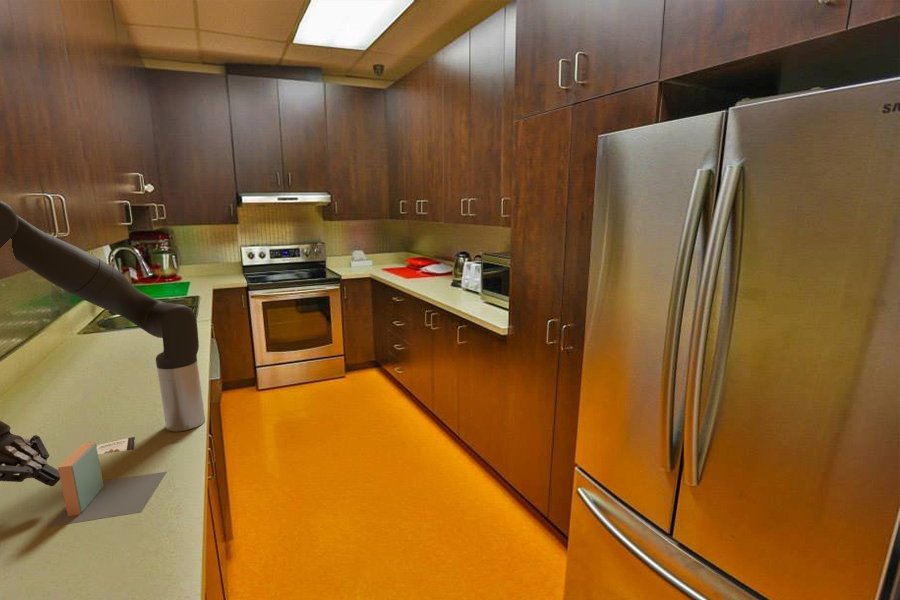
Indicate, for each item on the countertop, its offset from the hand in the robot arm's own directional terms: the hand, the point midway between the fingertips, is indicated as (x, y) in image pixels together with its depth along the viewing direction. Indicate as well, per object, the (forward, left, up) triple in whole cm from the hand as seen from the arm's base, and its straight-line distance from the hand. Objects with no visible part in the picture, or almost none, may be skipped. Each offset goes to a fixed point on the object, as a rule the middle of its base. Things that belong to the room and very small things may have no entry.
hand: (58, 480), depth 87 cm
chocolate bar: (-18, 0, -6) cm, 19 cm away
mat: (0, +8, -6) cm, 10 cm away
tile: (0, +4, -5) cm, 6 cm away
